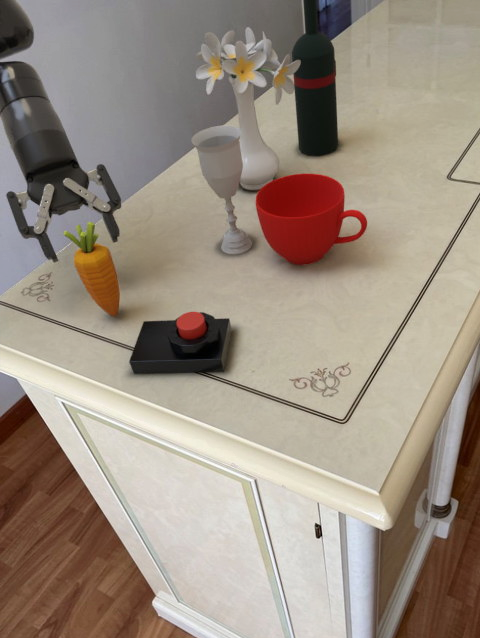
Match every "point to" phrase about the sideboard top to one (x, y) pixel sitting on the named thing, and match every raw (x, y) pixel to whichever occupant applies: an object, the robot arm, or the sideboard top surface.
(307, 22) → the wine bottle
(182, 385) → the sideboard top surface
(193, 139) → the chalice
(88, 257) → the carrot
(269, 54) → the flower vase
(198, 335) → the red short cylinder
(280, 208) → the ceramic cup
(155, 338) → the black flat block
